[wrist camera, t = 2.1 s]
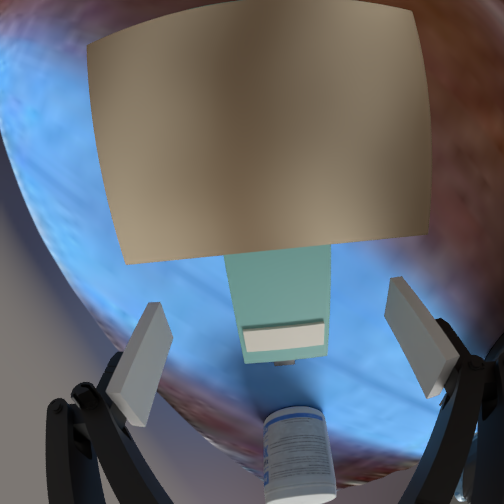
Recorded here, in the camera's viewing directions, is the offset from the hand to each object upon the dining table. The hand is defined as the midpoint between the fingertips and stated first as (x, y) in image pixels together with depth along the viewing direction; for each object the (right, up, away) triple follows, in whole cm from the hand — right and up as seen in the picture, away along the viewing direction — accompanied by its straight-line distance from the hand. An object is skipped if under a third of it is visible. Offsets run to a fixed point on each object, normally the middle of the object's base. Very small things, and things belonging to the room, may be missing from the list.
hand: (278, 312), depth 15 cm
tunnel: (-1, +13, +6) cm, 15 cm away
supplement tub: (+5, -23, +22) cm, 32 cm away
